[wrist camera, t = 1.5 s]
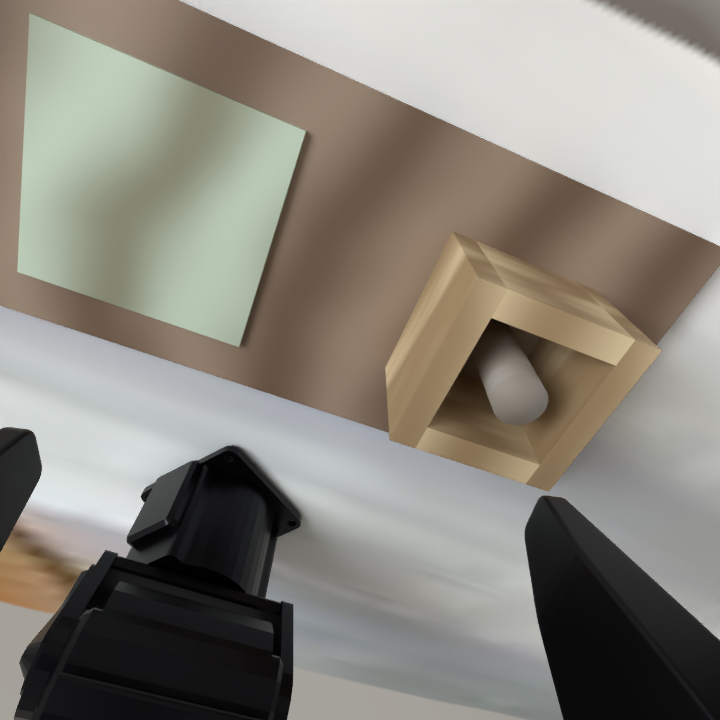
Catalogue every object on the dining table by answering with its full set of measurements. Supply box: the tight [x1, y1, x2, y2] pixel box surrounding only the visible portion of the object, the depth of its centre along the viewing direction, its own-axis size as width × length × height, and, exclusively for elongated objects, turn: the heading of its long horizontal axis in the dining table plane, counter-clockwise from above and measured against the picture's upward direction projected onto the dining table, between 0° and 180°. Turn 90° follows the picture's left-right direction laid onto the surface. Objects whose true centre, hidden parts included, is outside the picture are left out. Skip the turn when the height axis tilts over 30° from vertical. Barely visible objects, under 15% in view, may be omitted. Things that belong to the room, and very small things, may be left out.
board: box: [0, 0, 720, 432], centre depth 18 cm, size 28×13×6 cm, turn 68°
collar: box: [385, 231, 662, 491], centre depth 19 cm, size 6×6×5 cm
